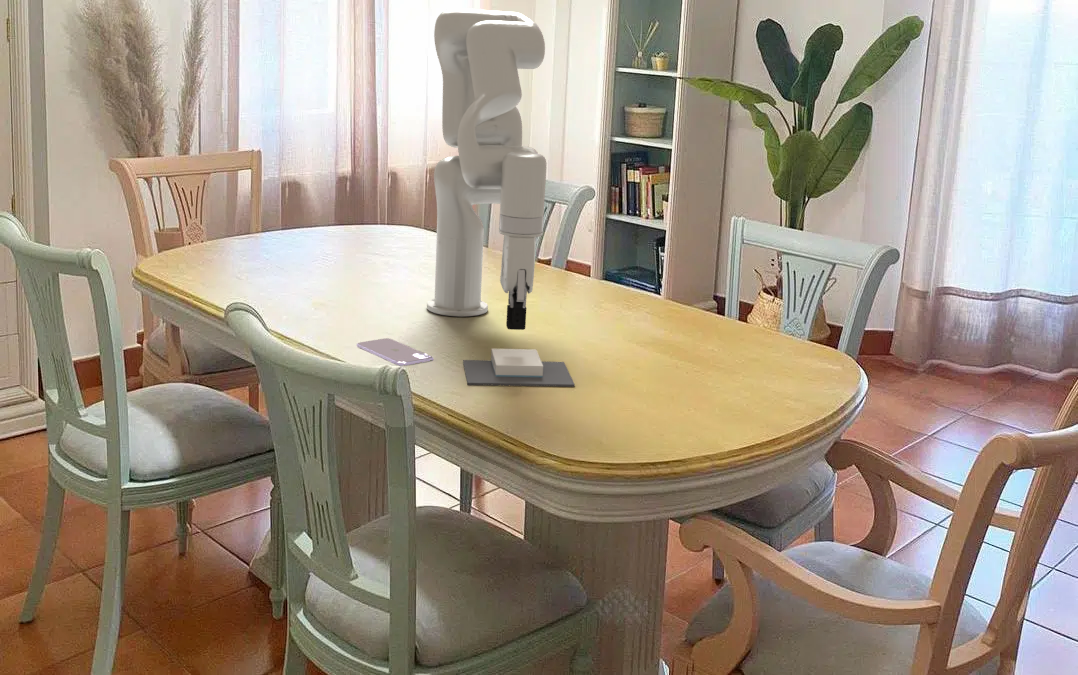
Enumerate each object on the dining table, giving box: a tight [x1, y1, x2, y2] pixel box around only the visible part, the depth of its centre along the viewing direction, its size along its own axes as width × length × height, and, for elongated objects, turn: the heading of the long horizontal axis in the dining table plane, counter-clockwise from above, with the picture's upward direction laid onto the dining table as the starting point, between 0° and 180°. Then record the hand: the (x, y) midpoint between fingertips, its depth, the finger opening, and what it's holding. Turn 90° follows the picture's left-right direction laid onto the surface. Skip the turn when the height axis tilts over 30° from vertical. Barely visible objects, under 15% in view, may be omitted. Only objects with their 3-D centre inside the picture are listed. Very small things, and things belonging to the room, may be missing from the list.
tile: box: [490, 348, 543, 377], centre depth 204 cm, size 2×8×10 cm
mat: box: [462, 359, 575, 388], centre depth 202 cm, size 13×18×1 cm
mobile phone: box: [356, 337, 434, 366], centre depth 210 cm, size 8×1×15 cm
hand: (515, 328), depth 206 cm, fingers closed
